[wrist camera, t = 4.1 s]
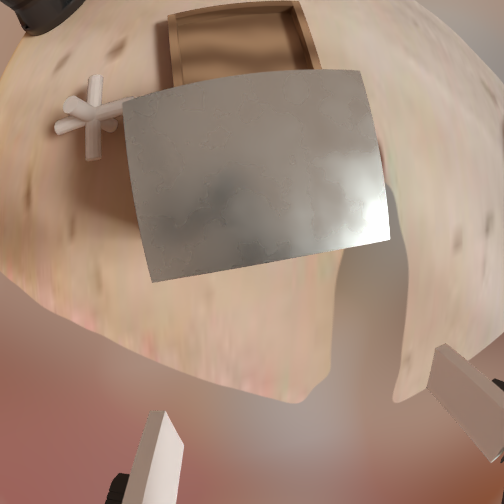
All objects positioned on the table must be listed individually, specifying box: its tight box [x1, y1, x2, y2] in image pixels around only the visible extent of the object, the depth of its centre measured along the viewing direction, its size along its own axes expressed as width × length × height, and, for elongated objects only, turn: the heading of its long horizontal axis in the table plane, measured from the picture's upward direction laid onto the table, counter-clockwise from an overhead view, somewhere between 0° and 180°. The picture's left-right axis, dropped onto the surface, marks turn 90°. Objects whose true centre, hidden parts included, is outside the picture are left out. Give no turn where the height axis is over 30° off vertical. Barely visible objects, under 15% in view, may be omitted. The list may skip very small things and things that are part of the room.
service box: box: [122, 69, 390, 283], centre depth 23 cm, size 13×16×15 cm
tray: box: [168, 1, 322, 87], centre depth 26 cm, size 17×17×2 cm
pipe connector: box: [55, 75, 134, 161], centre depth 23 cm, size 10×10×10 cm
